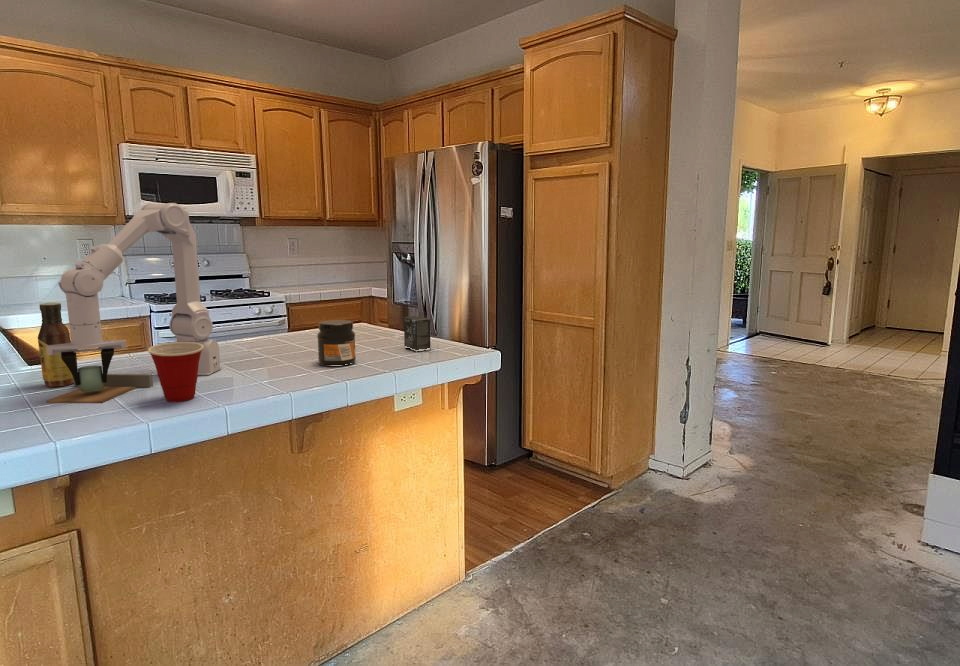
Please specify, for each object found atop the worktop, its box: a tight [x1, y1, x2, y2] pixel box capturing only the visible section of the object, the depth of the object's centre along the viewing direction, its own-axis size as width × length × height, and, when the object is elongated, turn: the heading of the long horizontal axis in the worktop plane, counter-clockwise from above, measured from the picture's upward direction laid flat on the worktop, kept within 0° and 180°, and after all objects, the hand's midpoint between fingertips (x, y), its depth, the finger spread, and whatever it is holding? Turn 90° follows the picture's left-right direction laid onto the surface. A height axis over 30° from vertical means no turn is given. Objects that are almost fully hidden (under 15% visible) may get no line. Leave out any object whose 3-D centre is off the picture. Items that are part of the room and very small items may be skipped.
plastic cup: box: [147, 341, 204, 403], centre depth 124 cm, size 11×11×12 cm
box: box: [403, 315, 431, 350], centre depth 182 cm, size 8×6×11 cm
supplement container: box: [316, 319, 357, 366], centre depth 161 cm, size 10×10×12 cm
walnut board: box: [45, 387, 136, 404], centre depth 127 cm, size 12×12×1 cm
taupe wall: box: [73, 373, 154, 388], centre depth 134 cm, size 18×1×3 cm, turn 91°
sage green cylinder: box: [77, 364, 104, 392], centre depth 127 cm, size 4×4×5 cm
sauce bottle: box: [37, 302, 74, 388], centre depth 134 cm, size 7×6×20 cm
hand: (91, 383), depth 127 cm, fingers closed on sage green cylinder, 4 cm apart
